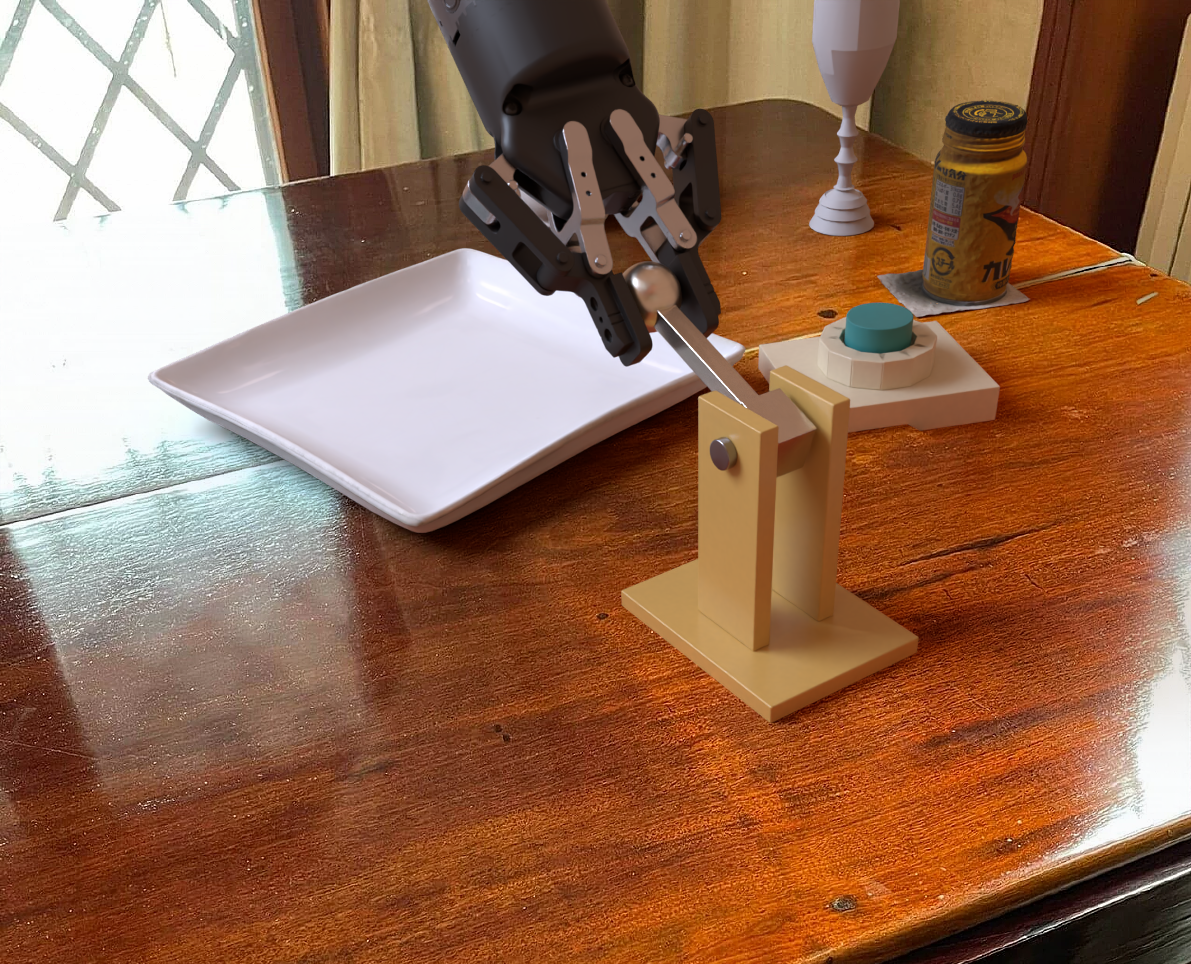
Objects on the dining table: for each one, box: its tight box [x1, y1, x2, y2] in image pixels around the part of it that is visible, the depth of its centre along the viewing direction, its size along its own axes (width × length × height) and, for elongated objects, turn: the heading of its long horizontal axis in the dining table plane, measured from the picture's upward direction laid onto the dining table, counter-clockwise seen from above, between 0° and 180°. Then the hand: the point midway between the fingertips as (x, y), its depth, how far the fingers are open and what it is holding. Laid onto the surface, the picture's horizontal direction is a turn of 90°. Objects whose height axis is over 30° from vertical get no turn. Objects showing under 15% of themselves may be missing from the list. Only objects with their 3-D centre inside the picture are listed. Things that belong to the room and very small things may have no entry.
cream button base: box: [757, 316, 1001, 433], centre depth 87 cm, size 12×10×4 cm
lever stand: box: [620, 365, 919, 724], centre depth 65 cm, size 12×9×13 cm
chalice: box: [808, 0, 901, 237], centre depth 105 cm, size 7×7×18 cm
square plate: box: [147, 247, 747, 534], centre depth 88 cm, size 27×27×4 cm
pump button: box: [845, 302, 915, 354], centre depth 85 cm, size 4×4×2 cm
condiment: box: [876, 99, 1031, 318], centre depth 96 cm, size 7×8×12 cm
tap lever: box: [622, 260, 817, 478], centre depth 64 cm, size 13×3×3 cm, turn 34°
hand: (671, 345), depth 66 cm, fingers closed on tap lever, 3 cm apart
